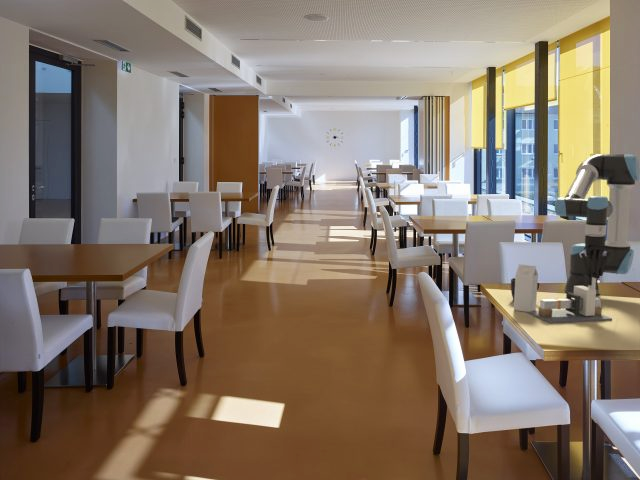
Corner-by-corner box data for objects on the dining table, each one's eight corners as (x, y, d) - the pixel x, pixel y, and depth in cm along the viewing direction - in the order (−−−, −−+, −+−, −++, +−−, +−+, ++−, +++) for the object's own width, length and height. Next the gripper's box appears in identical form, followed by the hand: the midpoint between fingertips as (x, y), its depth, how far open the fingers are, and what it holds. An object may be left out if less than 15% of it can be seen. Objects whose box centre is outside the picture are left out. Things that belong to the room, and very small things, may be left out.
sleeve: (581, 310, 281) (582, 285, 280) (594, 315, 272) (596, 290, 271) (572, 310, 280) (574, 285, 279) (585, 315, 272) (587, 290, 270)
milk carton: (519, 307, 291) (521, 263, 288) (535, 309, 287) (538, 264, 284) (513, 310, 285) (515, 265, 283) (530, 312, 281) (533, 267, 279)
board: (587, 310, 286) (587, 309, 286) (612, 320, 270) (612, 318, 270) (528, 313, 280) (529, 311, 280) (550, 323, 265) (550, 321, 264)
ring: (568, 309, 279) (570, 292, 278) (579, 313, 272) (580, 296, 271) (565, 309, 278) (566, 292, 277) (575, 314, 272) (576, 296, 271)
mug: (536, 304, 296) (537, 283, 295) (508, 301, 302) (509, 280, 300) (539, 301, 303) (541, 279, 302) (512, 298, 309) (513, 277, 307)
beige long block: (593, 312, 280) (594, 296, 279) (601, 315, 275) (602, 299, 275) (538, 314, 275) (539, 298, 274) (545, 317, 270) (546, 301, 269)
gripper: (586, 236, 268) (582, 296, 271) (615, 236, 271) (611, 294, 274) (575, 234, 275) (571, 292, 278) (603, 233, 278) (599, 291, 281)
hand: (591, 293), depth 276 cm, fingers closed
